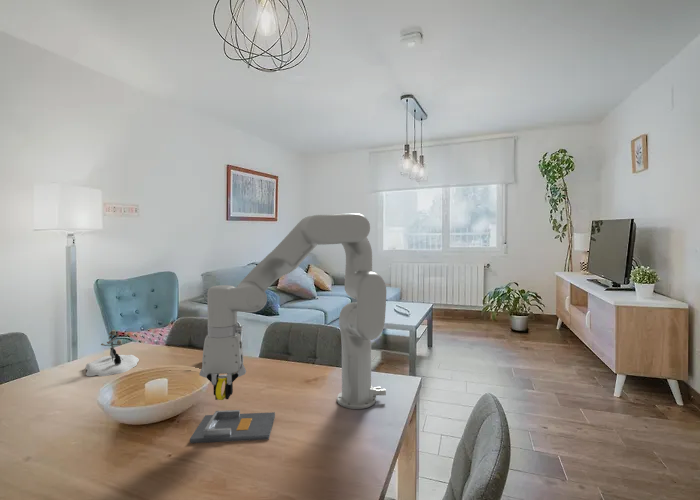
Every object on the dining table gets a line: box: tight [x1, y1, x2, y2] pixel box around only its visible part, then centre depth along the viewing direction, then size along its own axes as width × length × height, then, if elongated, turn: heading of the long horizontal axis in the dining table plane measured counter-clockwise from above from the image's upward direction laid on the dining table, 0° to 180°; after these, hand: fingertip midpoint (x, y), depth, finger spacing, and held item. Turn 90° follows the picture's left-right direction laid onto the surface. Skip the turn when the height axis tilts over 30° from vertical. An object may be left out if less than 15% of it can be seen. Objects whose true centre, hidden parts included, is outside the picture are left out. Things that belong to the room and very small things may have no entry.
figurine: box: [85, 329, 140, 377], centre depth 144 cm, size 20×18×16 cm
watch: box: [216, 374, 227, 401], centre depth 97 cm, size 6×3×6 cm, turn 175°
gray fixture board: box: [189, 409, 276, 444], centre depth 97 cm, size 20×12×3 cm, turn 94°
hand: (223, 396), depth 97 cm, fingers closed on watch, 2 cm apart
